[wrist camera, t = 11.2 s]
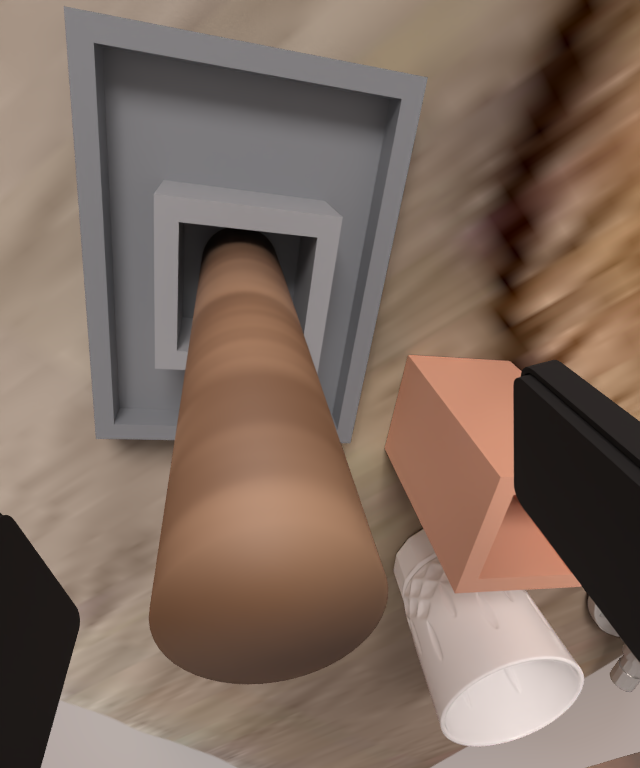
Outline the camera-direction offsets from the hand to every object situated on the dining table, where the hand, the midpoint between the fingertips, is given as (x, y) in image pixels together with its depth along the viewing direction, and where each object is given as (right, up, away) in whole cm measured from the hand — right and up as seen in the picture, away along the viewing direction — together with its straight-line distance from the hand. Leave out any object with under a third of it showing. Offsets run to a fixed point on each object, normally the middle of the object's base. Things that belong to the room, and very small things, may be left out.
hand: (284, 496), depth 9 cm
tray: (-3, +7, +13) cm, 15 cm away
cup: (+8, +1, +19) cm, 21 cm away
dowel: (-3, +7, +12) cm, 14 cm away
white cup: (+9, -10, +25) cm, 29 cm away
